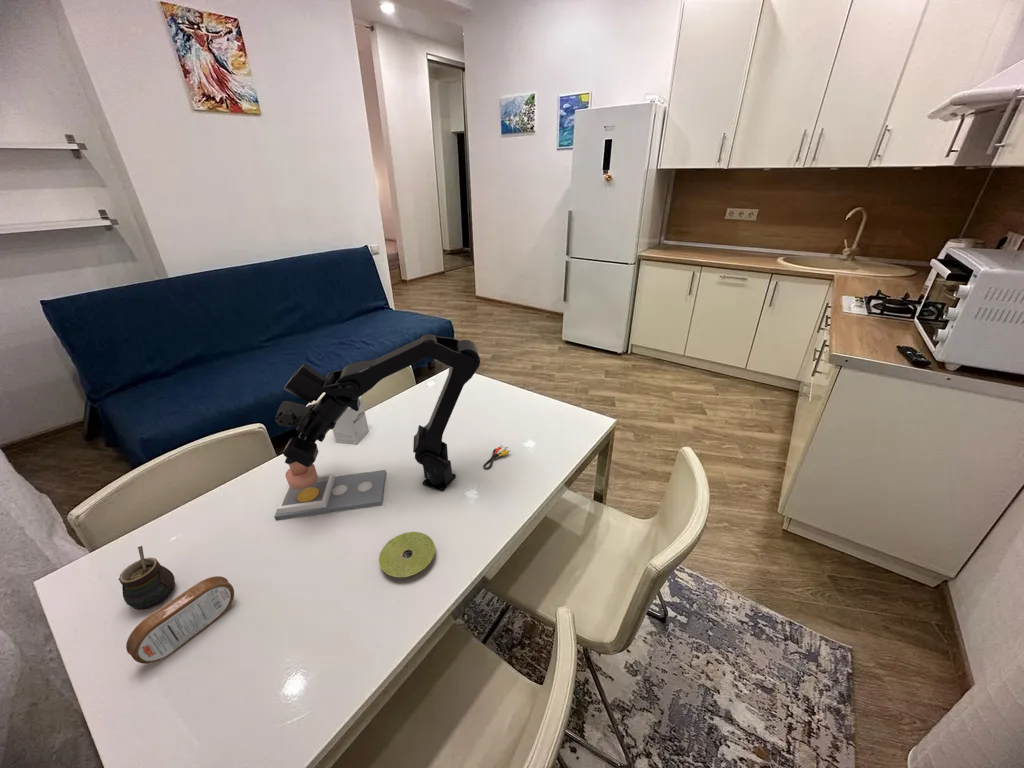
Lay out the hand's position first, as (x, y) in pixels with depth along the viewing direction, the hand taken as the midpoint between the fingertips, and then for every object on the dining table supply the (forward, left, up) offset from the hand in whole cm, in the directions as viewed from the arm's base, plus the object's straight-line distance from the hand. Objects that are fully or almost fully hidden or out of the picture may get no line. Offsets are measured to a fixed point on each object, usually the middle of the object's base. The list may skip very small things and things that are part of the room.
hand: (289, 457), depth 94 cm
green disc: (-35, +3, -13) cm, 37 cm away
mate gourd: (+4, +30, -13) cm, 33 cm away
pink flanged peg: (-1, -1, -7) cm, 7 cm away
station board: (-6, -4, -13) cm, 15 cm away
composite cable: (-36, -33, -14) cm, 51 cm away
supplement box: (+9, -26, -13) cm, 30 cm away
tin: (-10, +31, -13) cm, 35 cm away
